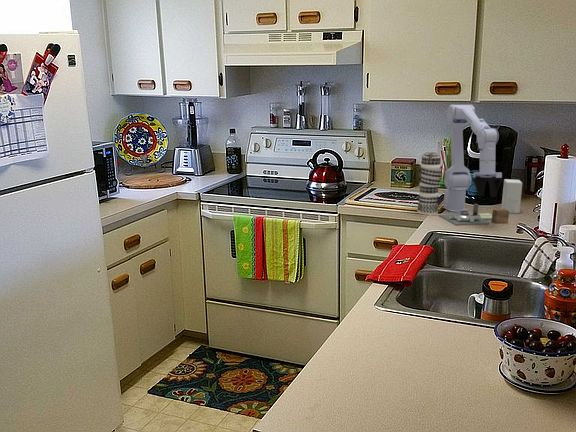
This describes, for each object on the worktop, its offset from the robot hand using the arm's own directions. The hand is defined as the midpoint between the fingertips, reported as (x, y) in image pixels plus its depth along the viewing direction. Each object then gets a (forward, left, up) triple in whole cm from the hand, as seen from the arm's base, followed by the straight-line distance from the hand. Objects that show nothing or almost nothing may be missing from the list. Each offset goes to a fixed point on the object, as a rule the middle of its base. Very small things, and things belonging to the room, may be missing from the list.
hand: (487, 196), depth 234 cm
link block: (-3, +8, -11) cm, 14 cm away
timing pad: (-11, +6, -11) cm, 17 cm away
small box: (-20, +22, -11) cm, 32 cm away
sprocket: (-8, -5, -11) cm, 14 cm away
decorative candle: (-23, -14, -11) cm, 29 cm away
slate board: (-8, -5, -11) cm, 15 cm away
